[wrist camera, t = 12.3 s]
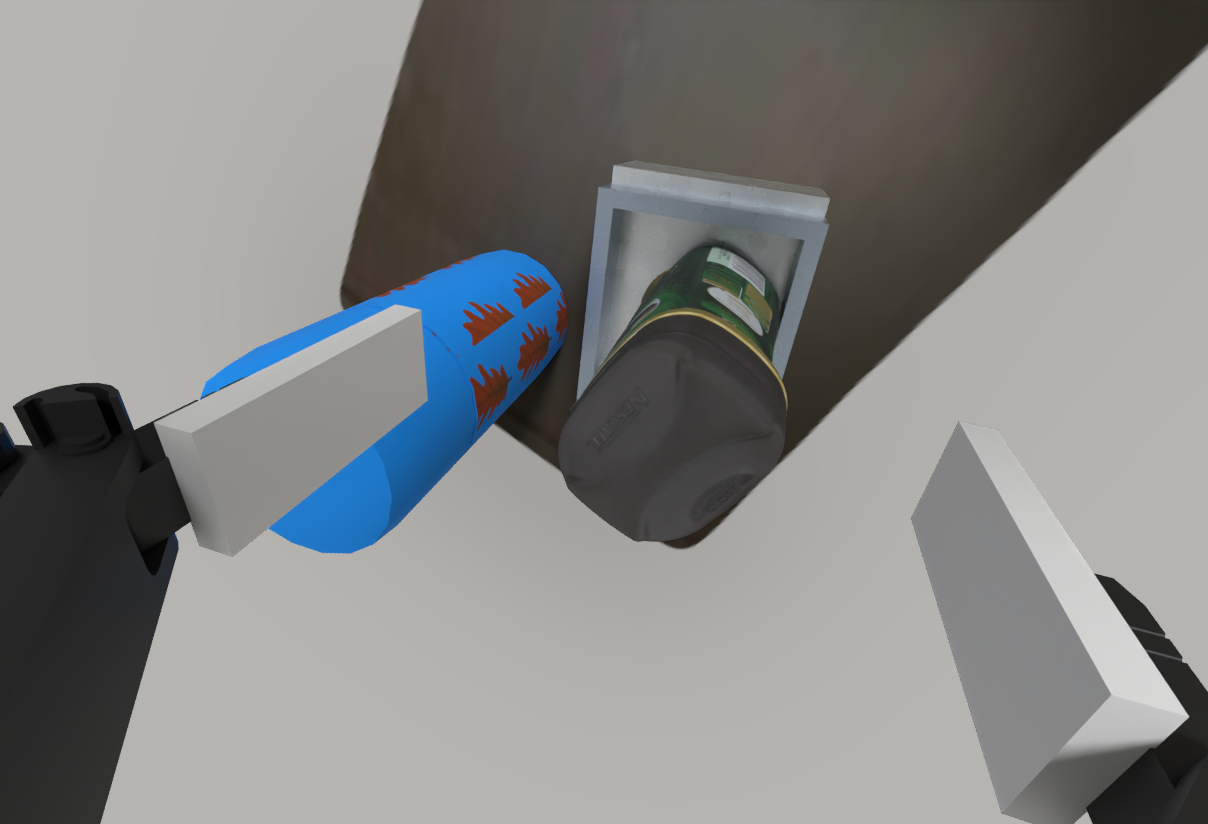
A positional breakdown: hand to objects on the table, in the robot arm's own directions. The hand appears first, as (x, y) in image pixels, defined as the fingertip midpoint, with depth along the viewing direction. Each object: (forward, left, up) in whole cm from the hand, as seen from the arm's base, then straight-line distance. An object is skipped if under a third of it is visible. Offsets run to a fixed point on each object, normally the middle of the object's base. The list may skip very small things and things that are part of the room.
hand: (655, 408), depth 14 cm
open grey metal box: (+1, +5, -30) cm, 30 cm away
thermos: (+17, +10, -30) cm, 36 cm away
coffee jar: (0, +5, -24) cm, 25 cm away
